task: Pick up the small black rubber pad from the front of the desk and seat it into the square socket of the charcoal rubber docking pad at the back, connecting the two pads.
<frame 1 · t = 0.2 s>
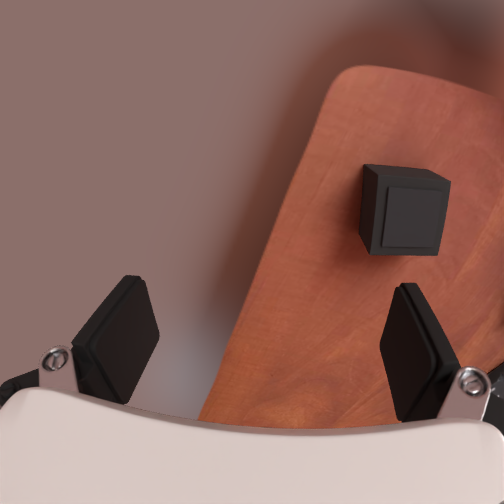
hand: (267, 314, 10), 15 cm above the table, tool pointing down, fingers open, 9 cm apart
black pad: (394, 201, 22), on the table
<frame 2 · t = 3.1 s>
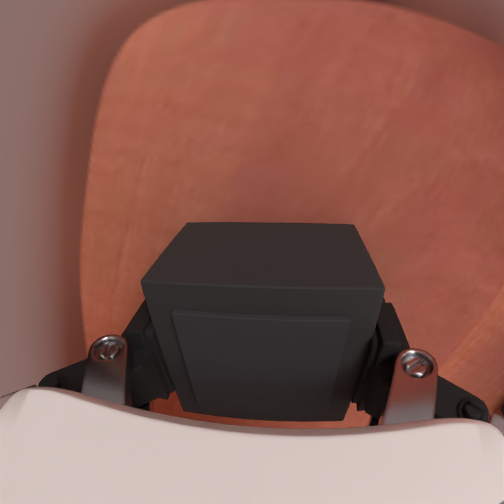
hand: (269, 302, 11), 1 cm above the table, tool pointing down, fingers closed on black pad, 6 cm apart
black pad: (270, 293, 12), on the table, touching gripper
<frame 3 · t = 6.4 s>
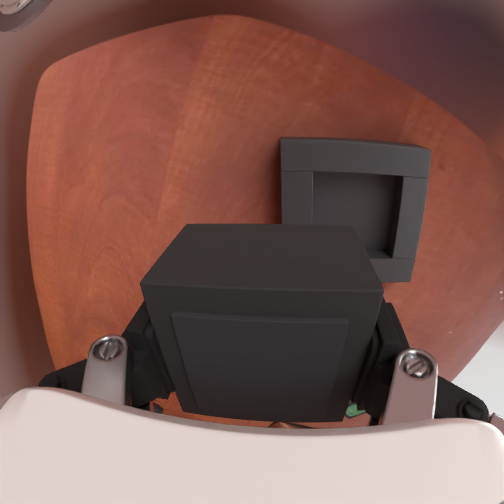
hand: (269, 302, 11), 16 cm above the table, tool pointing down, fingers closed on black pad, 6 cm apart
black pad: (269, 294, 12), point 15 cm above the table, touching gripper
sunglasses case: (311, 436, 44), on the table
docking pad: (350, 208, 25), on the table
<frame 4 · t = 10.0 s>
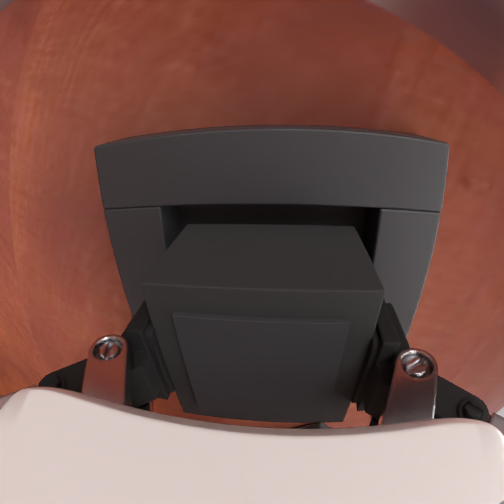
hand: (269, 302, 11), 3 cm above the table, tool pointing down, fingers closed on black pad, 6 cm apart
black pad: (270, 295, 12), point 2 cm above the table, touching gripper
docking pad: (272, 266, 13), on the table
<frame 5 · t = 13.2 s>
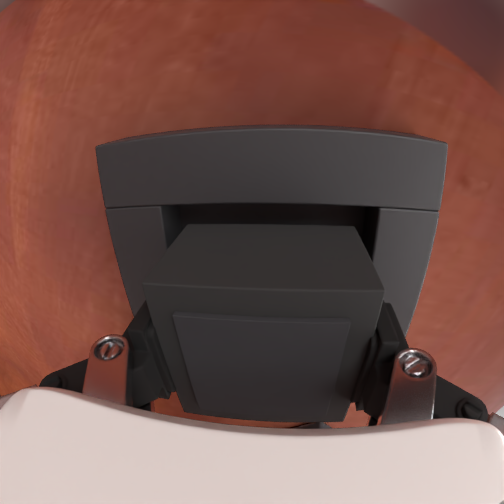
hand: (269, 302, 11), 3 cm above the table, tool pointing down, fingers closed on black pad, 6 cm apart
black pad: (270, 294, 12), point 2 cm above the table, touching gripper
docking pad: (272, 265, 13), on the table
when the fingers open (3 cm above the table, at t = 16.1 s): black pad drops 2 cm, resting on docking pad.
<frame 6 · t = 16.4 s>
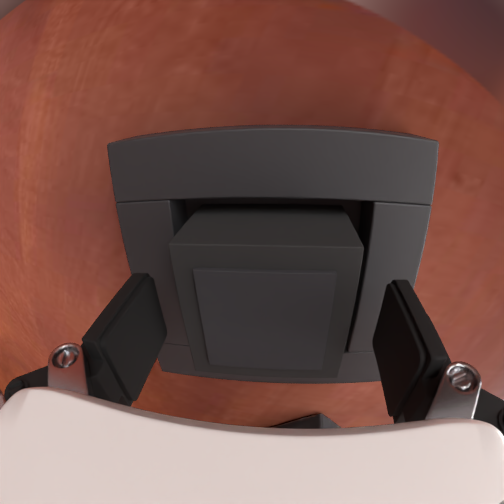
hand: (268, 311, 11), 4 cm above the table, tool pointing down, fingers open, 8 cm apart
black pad: (271, 266, 13), point 1 cm above the table, touching docking pad
disk drive: (311, 450, 24), on the table
docking pad: (274, 258, 14), on the table
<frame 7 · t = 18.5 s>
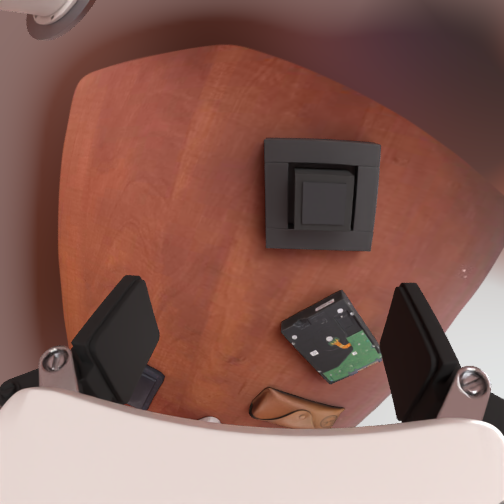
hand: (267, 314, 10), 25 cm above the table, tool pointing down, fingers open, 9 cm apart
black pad: (320, 193, 32), point 1 cm above the table, touching docking pad
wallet: (126, 378, 56), on the table
sunglasses case: (298, 406, 52), on the table
disk drive: (335, 335, 42), on the table
docking pad: (320, 191, 33), on the table
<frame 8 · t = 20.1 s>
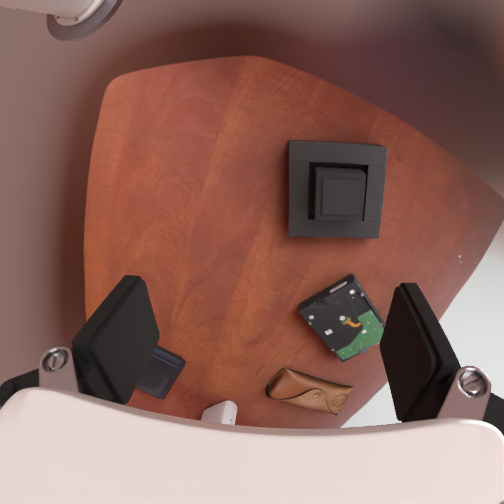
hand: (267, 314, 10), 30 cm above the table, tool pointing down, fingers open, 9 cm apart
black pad: (335, 188, 37), point 1 cm above the table, touching docking pad
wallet: (145, 366, 60), on the table
sunglasses case: (311, 386, 57), on the table
photo printer: (220, 407, 64), on the table
disk drive: (346, 315, 47), on the table
docking pad: (335, 187, 38), on the table
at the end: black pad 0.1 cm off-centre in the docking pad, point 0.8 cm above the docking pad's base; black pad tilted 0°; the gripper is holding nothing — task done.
